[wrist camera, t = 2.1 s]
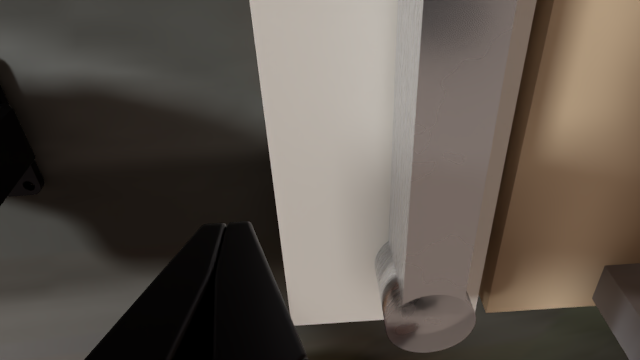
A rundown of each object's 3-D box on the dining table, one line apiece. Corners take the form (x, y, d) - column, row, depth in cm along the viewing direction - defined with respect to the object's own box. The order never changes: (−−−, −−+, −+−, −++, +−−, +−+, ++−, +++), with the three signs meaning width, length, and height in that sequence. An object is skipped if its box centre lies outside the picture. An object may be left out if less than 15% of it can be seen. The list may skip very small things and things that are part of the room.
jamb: (291, 246, 26) (291, 325, 22) (222, -371, 13) (191, -450, 9) (446, 236, 26) (474, 313, 22) (528, -389, 13) (631, -476, 9)
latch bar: (448, 285, 20) (469, 349, 18) (373, 290, 20) (384, 355, 18) (507, -119, 12) (560, -101, 10) (381, -111, 12) (403, -91, 10)
